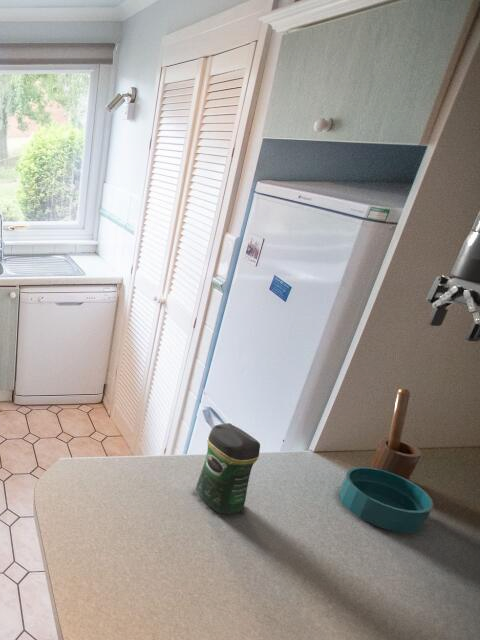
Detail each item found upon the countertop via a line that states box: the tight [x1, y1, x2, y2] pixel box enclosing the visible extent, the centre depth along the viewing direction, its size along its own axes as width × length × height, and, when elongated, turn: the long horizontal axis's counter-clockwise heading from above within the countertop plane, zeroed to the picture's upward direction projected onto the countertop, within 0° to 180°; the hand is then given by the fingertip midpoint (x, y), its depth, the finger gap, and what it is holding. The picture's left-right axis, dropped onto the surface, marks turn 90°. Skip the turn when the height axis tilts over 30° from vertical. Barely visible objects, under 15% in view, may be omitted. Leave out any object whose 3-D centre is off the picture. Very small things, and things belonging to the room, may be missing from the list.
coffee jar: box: [195, 422, 261, 515], centre depth 99 cm, size 10×8×19 cm
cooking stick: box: [388, 388, 411, 452], centre depth 105 cm, size 2×2×24 cm
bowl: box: [338, 466, 434, 534], centre depth 99 cm, size 14×14×6 cm
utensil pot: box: [368, 437, 422, 481], centre depth 108 cm, size 7×7×9 cm
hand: (452, 332), depth 94 cm, fingers open, 8 cm apart
